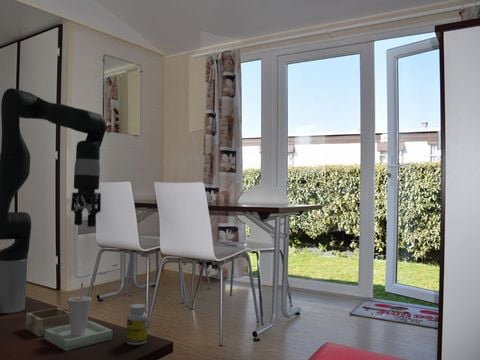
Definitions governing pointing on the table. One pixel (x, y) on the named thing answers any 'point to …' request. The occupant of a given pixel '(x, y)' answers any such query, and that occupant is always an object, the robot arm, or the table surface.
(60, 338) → the tray
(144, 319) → the supplement bottle
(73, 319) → the smoothie
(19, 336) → the table surface
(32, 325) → the holder
